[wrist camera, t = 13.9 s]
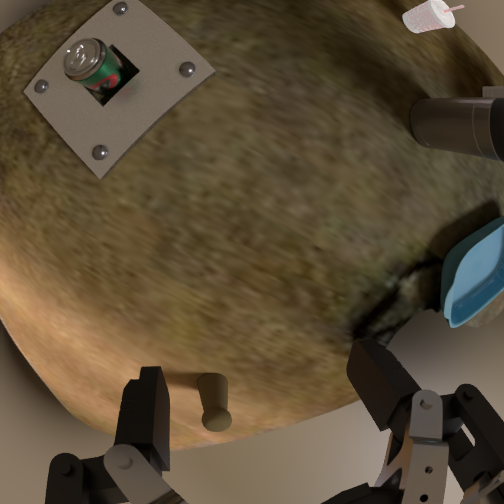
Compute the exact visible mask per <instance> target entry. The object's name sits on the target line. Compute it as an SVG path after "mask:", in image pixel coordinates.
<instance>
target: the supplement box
mask: <svg viewBox="0 0 504 504" xmlns="http://www.w3.org/2000/svg"><path fill="white" fill-rule="evenodd" d="M482 92H483V97H492V98H504V87H499V86H483V87H482Z"/></svg>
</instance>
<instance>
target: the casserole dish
mask: <svg viewBox="0 0 504 504" xmlns="http://www.w3.org/2000/svg"><path fill="white" fill-rule="evenodd" d="M503 290H504V216H503V217H499V218H497V219H495V220H493V221H491V222H490V223H488V224H487V225H485V226H484V227H482V228H480V229H479V230H477V231H476V232H474V233H472V234H471V235H469V236H468V237H466V238H465V239H463V240H462V241H460V242H459V243H458V244H457V245H455V246H454V247H453V248H452V249H451V250H450V251H449V253H448V254H447V256H446V257H445V260H444V263H443V268H442V279H441V298H440V303H441V309H442V312H443V315H444V317H445V318H446V320H447V322H448V324H449V326H450V327H451V328H455V327H458V326H460V325H462V324H463V323H465V322H466V321H468V320H469V319H470V318H472V317H473V316H474V315H475V314H477V313H478V312H479V311H480V310H482V309H483V308H484V307H485V306H486V305H487V304H489V303H490V302H491V301H492V300H493V299H494V298H495V297H496V296H497V295H499V294H500V293H501V292H502V291H503Z"/></svg>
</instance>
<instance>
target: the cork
mask: <svg viewBox="0 0 504 504" xmlns="http://www.w3.org/2000/svg"><path fill="white" fill-rule="evenodd" d="M197 385H198V390H199V394H200V398H201V402H202V406H203V410H204V413H203V415H202V423H203V426H204V427H205V428H206V429H207V430H209V431H213V432H220V431H224V430H226V429H228V428H229V427H230V425H231V423H232V418H231V415H230V413H229V412H228V411H227V404H228V381H227V379H226V377H225V376H223V375H222V374H218V373H207V374H204V375H202V376H201V377H200V378H199V379H198V381H197Z"/></svg>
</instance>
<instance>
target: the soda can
mask: <svg viewBox="0 0 504 504" xmlns="http://www.w3.org/2000/svg"><path fill="white" fill-rule="evenodd" d="M62 65H63V69H64V73H65V75H66V76H67V77H68V78H69V79H70V80H72V81H74V82H77V83H79V84H81V85H83V86H85V87H87V88H90V89H92V90H94V91H96V92H98V93H100V94H102V95H106V96H111V95H115V94H116V93H117V92H118V91H119V90H120V89H121V88H123V87H124V86H125V85H126V84H127V83H128V80H129V70H128V68H127V66H126V65H125V64H124V63H123V62H122V61H121V60H120V59H119V58H118V57H117V56H116V55H115V54H114V53H113V52H112V51H111V50H110V48H109V47H108V46H107V45H106V44H105V43H104V42H103V41H101V40H100V39H97V38H84V39H81V40H78V41H77V42H75V43H74V44H72V45H71V46H70V47H69V49H68V50H67V51H66V53H65V55H64V58H63V63H62Z"/></svg>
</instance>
